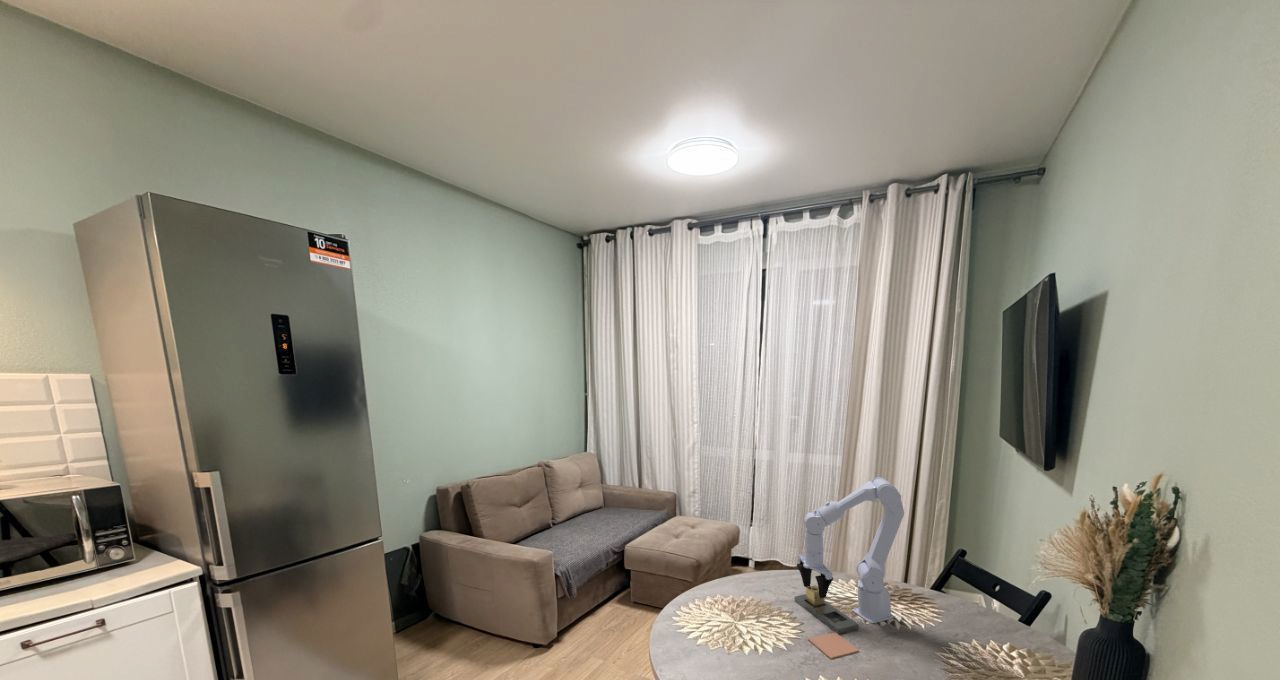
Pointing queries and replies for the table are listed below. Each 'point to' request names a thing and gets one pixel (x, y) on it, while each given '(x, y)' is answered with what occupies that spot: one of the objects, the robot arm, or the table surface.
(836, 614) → the metal rail
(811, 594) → the cube with round inset
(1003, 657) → the table surface
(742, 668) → the table surface
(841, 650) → the terracotta mat
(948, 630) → the table surface
